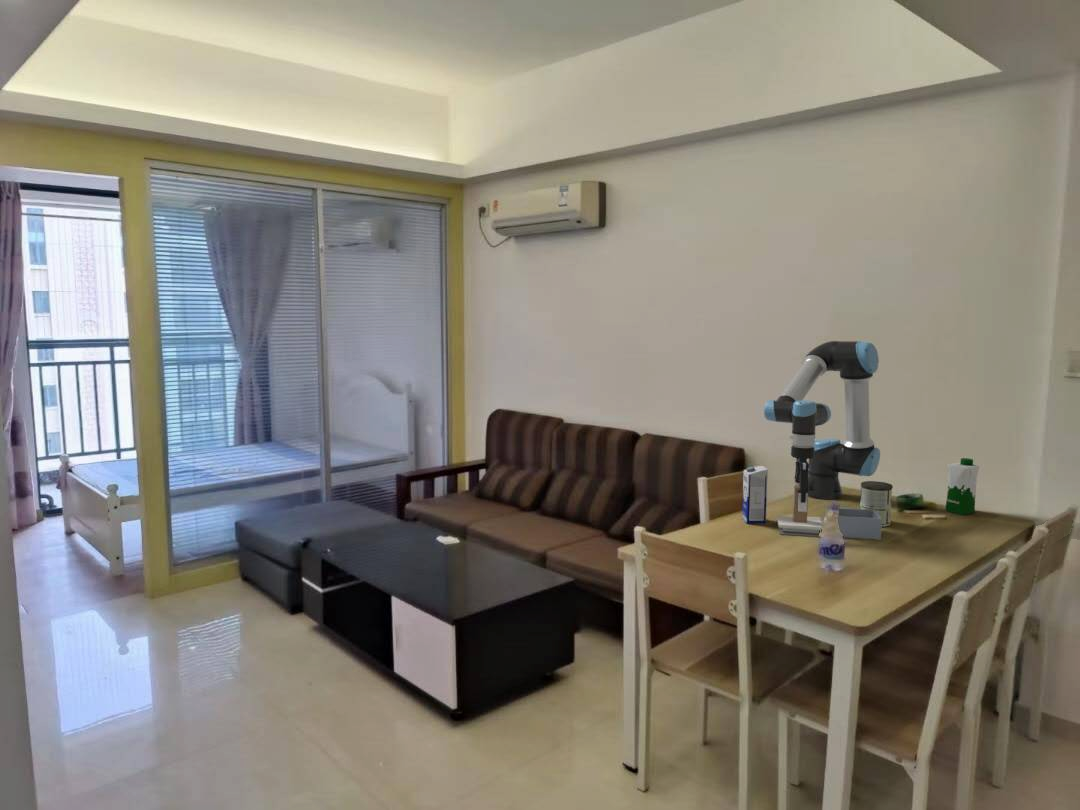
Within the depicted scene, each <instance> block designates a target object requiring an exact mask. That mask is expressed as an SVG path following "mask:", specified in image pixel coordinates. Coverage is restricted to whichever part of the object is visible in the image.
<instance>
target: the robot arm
mask: <svg viewBox="0 0 1080 810" xmlns="http://www.w3.org/2000/svg"><path fill="white" fill-rule="evenodd" d="M879 363H880V361H879V353H878V350H877V347H876V346H875V345H874V344H873V342H868V341H861V340H859V341H853V340H852V341H850V340H847V341H846V340H845V341H844V340H843V341H839V340H830V341H827V342H824V343H821V344H819V345H818V346H816V347H814V348H813V349H811V350H809V352H808V353H807V354H806V355H805V357H804V358H803V359H802V361H801V366H800V368H799V369H798V370H797V372H796V373H795V375H794V376H793V378H791V380H790V381H789V383H788V384H787V386H786V387H785V388H784V390H783V392H782V393H780V395H779V397H778V398H777V399H776V400H774V399H773V400H768V401H766V402H765V404H764V407H763V415H764V418H765V419H766V420H767V421H770V422H776V423H787V424H792V425H791V427H792V428H791V429H792V430H791V435H790V436H789V439H791V444H792V446H790V447H791V448H790V449H791V450H790V456H791V458H795V459H796V460H795V472H794V486H799V487H800V490H798V491H797V493H799V501H798V511H800V512H807V513H808V511H807V495H808V498H814V499H819V500H820V499H821V500H837V499H841V498H842V497H843V490H842V486H841V483H840V479H839V473H840V474H846V475H847V474H848V475H855V476H859V477H862V476H863V477H871V476H873V475H874V474H875V473H876V472H877V469H878V466H879V464H880V463H879V462H880V459H881V451H880V450H881V449H880V448H878V447H875V441H874V440H873V439H872V438H871V435H870V434H871V431H870V430H871V429H870V385H869V381H870V379H872V378H873V377H874V374H875V373H876V372H877V371H878V368H879ZM832 371H833V372H839V377H840V379H842V381H844V411H845V437H846V438H844V439H843V440H842V442H841V440H840V439H839V438H838V439H837V438H823V439H822V438H821V439H816V427H818V426H823V425H824V424H826V423H828V422H829V421H830V419H831V417H832V412H831V411H832V410H831V409H830V407H829V406H828V405H827V404H825V403H823V402H821V403H819V402H818V403H817V402H815V401H813V400H804V399H805V398H806V397H807V395H808V393H809V392H810V390H811V389H812V388H813V386H814V384H815V383H816V382H817V381H818V379H819V378H820V377H822V376H824V375H825V374H826V372H832ZM807 460H808V461H807Z"/></svg>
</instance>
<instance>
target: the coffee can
mask: <svg viewBox="0 0 1080 810" xmlns="http://www.w3.org/2000/svg"><path fill="white" fill-rule="evenodd" d="M893 487H894V486H893V485H892V484H891V483H888V482H884V481H875V480H867V481H862V482H861V483H860V505H859V509H871V510H875V511H876V512H877V513H878V515H879V516H880V517H881V519H882V525H881V528H882V527H883V528H884V527H889V526H890V525H891V514H892V513H891V512H892V500H893V499H892V494H893Z"/></svg>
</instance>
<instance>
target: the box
mask: <svg viewBox="0 0 1080 810" xmlns="http://www.w3.org/2000/svg"><path fill="white" fill-rule="evenodd" d="M838 508H839V514H838V517H837V518H838V525H839V529H840V532H841V533H842V534H843V536H844V537H843V538H850V539H864V540H881V539H882V527H881V525H882V519H881V517H880V516H879V515H878V513H877V512H876V511H875V510H871V509H860V508H851V507H850V508H849V507H838Z"/></svg>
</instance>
